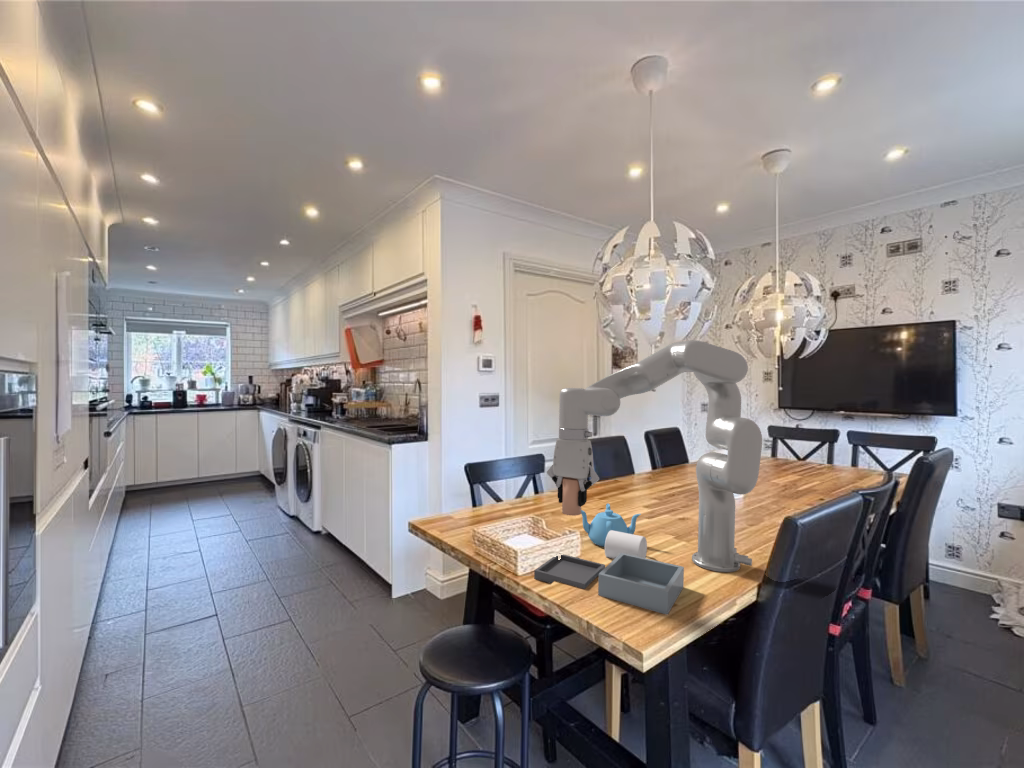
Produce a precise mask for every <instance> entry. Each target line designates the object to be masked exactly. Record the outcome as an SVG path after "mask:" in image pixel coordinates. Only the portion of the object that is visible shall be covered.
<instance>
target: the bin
mask: <svg viewBox="0 0 1024 768" xmlns="http://www.w3.org/2000/svg"><path fill="white" fill-rule="evenodd" d="M684 573H685V567H684V566H682V565H676V564H672V563H668V562H664V561H659V560H656V559H655V560H654V559H651V558H650V559H649V558H647V557H646V558H642V557H638V556H633V555H629V554H624V553H620V554H619V555H618V556H617V557H616V558H615V559H613V560H612V561H610V563H608V565H606V566H605V568H604V569H603V570H602V571H601V572H600V573H599V576H598V577H597V578H598V580H597V581H598V582H597V585H598V586H597V587H598V588H597V591H598V592H597V596H599V597H603V598H607V599H610V600H614V601H617V602H621V603H624V604H627V605H630V606H631V605H632V606H635V607H637V608H642V609H645V610H648V611H653V612H656V613H660V614H663V615H669V614H670V611H671V610H672V608H673V606H674V604H675V603H676V601H677V599H678V597H679V595H680V593H681V592H682V590H683V589H684V585H685V583H684V578H685V577H684Z"/></svg>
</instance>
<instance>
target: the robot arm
mask: <svg viewBox="0 0 1024 768" xmlns="http://www.w3.org/2000/svg"><path fill="white" fill-rule="evenodd" d="M748 370H749V365H748V362H747V360H746V359H745V357H744V355H742V354H740V353H739V352H737V351H734V350H731V349H727V348H724V347H721V346H718V345H714V344H712V343H708V342H705V341H701V340H697V339H696V340H695V339H692V340H685V341H683V340H682V341H677V342H673V343H671V344H668V345H666V346H665V347H663V348H660V349H659V350H657V351H656V352H654V353H653V354H651V355H649V356H647V357H645V358H643V359H641V360H640V361H639V360H638V362H636V363H634V364H632V365H629V366H627V367H624V368H623V369H621V370H618V371H616V372H614V373H612V374H610V375H607V376H605V377H603V378H601V379H600V380H598V381H596V382H594V383H592V384H591V385H588V386H587V387H586V388H581V387H565V388H562V389H561V390H560V391H559V401H558V403H559V408H558V409H559V410H558V412H559V413H558V414H559V415H558V426H559V427H558V438H557V439H556V442H555V445H554V451H553V458H552V459H553V460H552V461H553V462H552V465H551V466H550V467H549V469H548V470H547V471H546V474H547V476H549V478H551V480H552V481H553V482H554V484H555V486H556V488H557V499H558V503H559V504H562V492H563V478H564V477H565V478H572V479H578V481H579V485H580V491H579V492H578V506H581V507H583V506H584V505H586V503H587V501H588V500H587V498H588V490H589V489H590V487H592V486H593V485H594V484H595V483H597V482H598V481H600V477H599V475H598V474H597V472H596V471H595V468H594V453H593V447H592V446H593V445H592V442H591V440H590V439H589V438H592V437H593V431H589V427H588V425H589V423H588V422H589V415H592V416H597V417H609V416H610V417H611V416H613V415H615V414H616V413H617V412H618V410H620V408H621V399H624V398H626V397H629V396H635V395H639V394H644V393H648V392H651V391H653V390H655V389H657V388H658V387H660V386H662V385H664V384H665V383H667V382H669V381H670V380H672V379H674V378H675V377H676V378H677V376H680V375H681V374H683V373H693V375H694V377H695V378H696V379H697V380H698V381H699V382H700V383H701V384H702V386H703V387H704V388H705V390H706V392H707V396H708V408H707V416H706V425H705V440H706V442H707V443H708V444H709V445H710V446H712V447H715V448H716V449H721V450H724V451H725V450H726V451H727V454H726V453H721V452H715V451H714V452H713V451H712V452H706V453H704V454H703V455H701V456H700V457H699V458H698V460H697V462H696V466H695V475H696V481H697V487H698V488H697V489H698V519H697V520H698V522H697V523H698V527H697V528H698V529H697V531H698V533H697V552H694V553H693V554H692V555H691V560H692V563H694V564H695V565H697V566H699V568H703V569H705V570H709V571H713V572H719V573H720V572H721V573H732V572H733V573H734V572H737V571H739V570H740V569H741V565H742V564H743V565H745V566H750V567H752V566H753V558H750V557H749V556H748V555H745V554H739V552H737V551H738V550H737V548H736V547H735V537H736V536H735V533H736V530H735V529H736V499H735V495H734V494H736V495H746V494H749V493H751V492H752V491H753V490H754V488H755V487H756V485H757V483H758V480H759V473H760V464H761V458H762V448H763V434H762V431H761V429H760V427H759V425H758V424H757V423H756V422H755V421H753V420H752V419H749V418H746V417H741V415H742V396H741V395H742V394H741V391H740V389H739V387H738V385H737V383H740V382H741V381H742V380H743V379H744V378H746V376H747V374H748ZM588 439H589V440H588ZM588 478H591V479H590V480H588Z"/></svg>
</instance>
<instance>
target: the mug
mask: <svg viewBox="0 0 1024 768" xmlns="http://www.w3.org/2000/svg"><path fill="white" fill-rule="evenodd" d="M646 538H647V537H646V536H643V535H637V534H628V533H623V532H618V531H613V530H610V531H609V532H608V534H607V537H606V540H605V547H604V555H605V557H606V558H607V559H613V560H614V559H615V558H616V557H617V556H618V555H619V554H620V553H624V554H629V555H633V556H638V557H642V558H647V552H648V542H647V539H646Z"/></svg>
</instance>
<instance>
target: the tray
mask: <svg viewBox="0 0 1024 768" xmlns="http://www.w3.org/2000/svg"><path fill="white" fill-rule="evenodd" d="M605 567H606V564H604V563H599V562H596V561H592V560H587V559H584V558H579V557H575V556H571V555H567V554H563V555H561V559H560V560H558V556H556V557H554V556H553V557H551V558H550V559H548V560H547V561H545V562H544V563H543V564H541V565H540V566H538V567H537V568H536V569H534V570H533V571H534V572H533V577H534V578H533V579H534V580H537V581H542V582H545V583H548V584H553V583H554V582H557V583H561V584H565V585H568V586H572V587H575V588H579V589H582V590H585V589H586V588H587V587H589V586H590V584H592V583H593V581H594V580H596V579H597V578H599V573H600V572H601V571H602V570H603V569H604V568H605Z"/></svg>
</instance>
